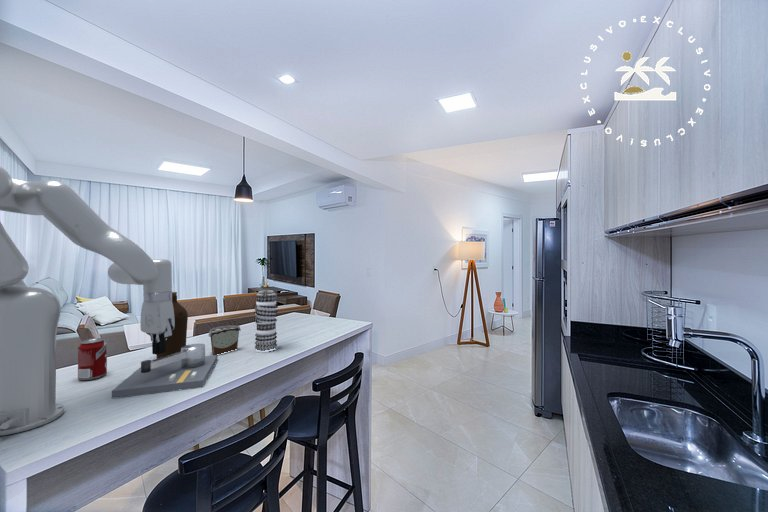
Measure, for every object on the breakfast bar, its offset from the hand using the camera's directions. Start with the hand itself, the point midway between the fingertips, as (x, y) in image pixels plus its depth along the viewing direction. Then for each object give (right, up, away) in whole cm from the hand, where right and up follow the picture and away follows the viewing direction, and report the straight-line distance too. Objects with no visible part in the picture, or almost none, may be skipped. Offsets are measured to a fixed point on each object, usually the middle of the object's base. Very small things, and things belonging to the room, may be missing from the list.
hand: (159, 353), depth 99 cm
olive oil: (-10, -8, +20) cm, 24 cm away
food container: (+7, -8, +26) cm, 28 cm away
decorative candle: (+24, -8, +29) cm, 38 cm away
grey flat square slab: (+5, -8, 0) cm, 9 cm away
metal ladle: (+6, -5, -1) cm, 8 cm away
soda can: (-21, -8, -1) cm, 22 cm away
